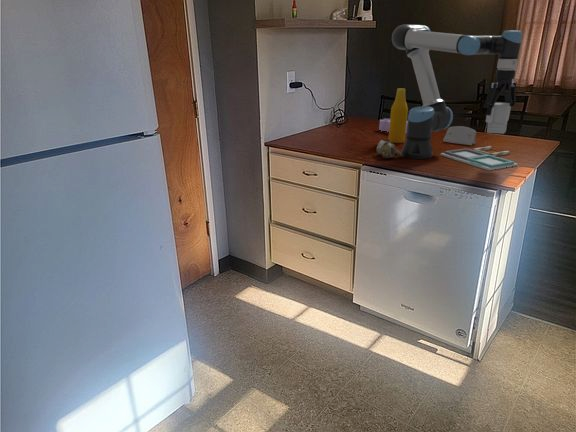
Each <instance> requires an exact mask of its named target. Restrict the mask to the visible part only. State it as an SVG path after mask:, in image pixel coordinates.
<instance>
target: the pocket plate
mask: <svg viewBox="0 0 576 432" xmlns="http://www.w3.org/2000/svg"><path fill="white" fill-rule="evenodd" d="M440 156H441V157H445V158H447V159H450V160H454V161H457V162H460V163H464V164H467V165H469V166H470V165H471V166H473V167H476V168H479V169H483V170H486V171H488V172H489V171H495V169H496V170H501V169H506V167H507V168H512V166H513V167H518V165H519V163H516V162H515V161H513V160H509V159H507V158H502V157H500V156H492V155H488V154H485V153H481V152H477V151H474V150H472V149H471V148H460V149H452V150H446V151H444V152H441V153H440Z"/></svg>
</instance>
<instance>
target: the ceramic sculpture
mask: <svg viewBox="0 0 576 432" xmlns="http://www.w3.org/2000/svg"><path fill="white" fill-rule="evenodd" d="M376 153H377V154H378V155H380V156H381V157H382V158H383V159H390V158H393V157H396V158H400V157H404V155H402V153H401V151H400V150H399V149H397V148H396V145H395V143H392V142H390V141H389V140H387V139H386V140H383V139H380V141H379V142H378V143H377V146H376Z"/></svg>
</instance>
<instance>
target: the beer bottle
mask: <svg viewBox="0 0 576 432" xmlns="http://www.w3.org/2000/svg"><path fill="white" fill-rule="evenodd" d="M408 115H409V107H408V104H407V101H406V88H405V87H404V88H402V87H401V88H397V90H396V95H395V98H394V102H393V104H392V105H391V109H390V115H389V116H390V117H389V119H390V127H389V133H388V138H387V139H388V140H389V141H390V142H391V143H393V144H403V143H405V141H406V135H407V133H406V124H407V121H408ZM405 134H406V135H405Z"/></svg>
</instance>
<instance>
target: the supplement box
mask: <svg viewBox="0 0 576 432" xmlns="http://www.w3.org/2000/svg"><path fill="white" fill-rule="evenodd" d="M509 105H510V103H506V102H495V104H494V106H493V108H494V112H493V118H492V123H488V122H487V125H486V126H487V129H486V133H487V134H503V135H504V134H506V131H507V126H508V121H509V120H508V113H509ZM507 120H508V121H507Z"/></svg>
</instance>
